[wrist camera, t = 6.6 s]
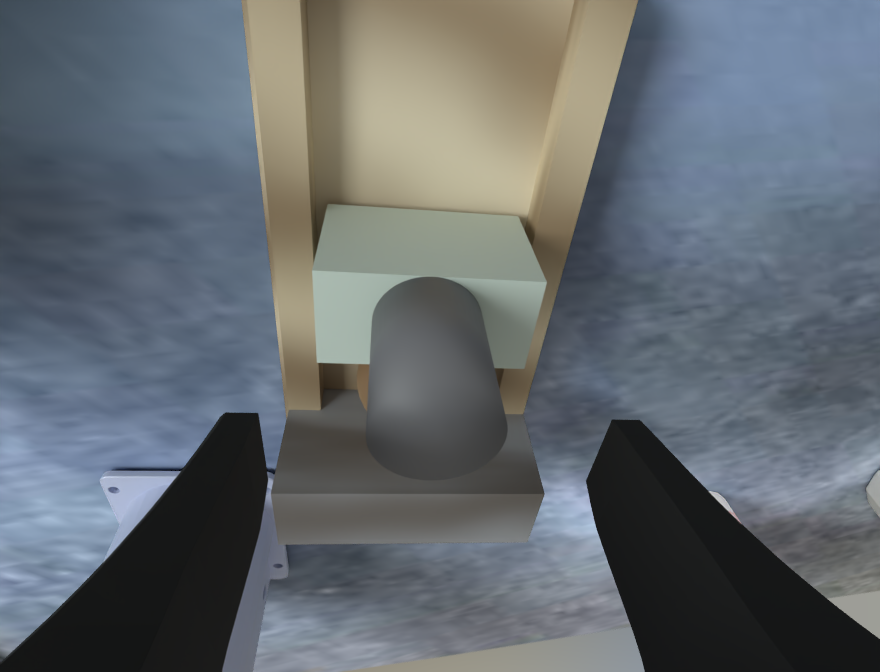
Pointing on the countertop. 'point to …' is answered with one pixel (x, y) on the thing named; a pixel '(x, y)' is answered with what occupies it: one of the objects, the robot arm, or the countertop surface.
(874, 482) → the white cup
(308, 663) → the countertop surface
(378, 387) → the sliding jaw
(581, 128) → the base
